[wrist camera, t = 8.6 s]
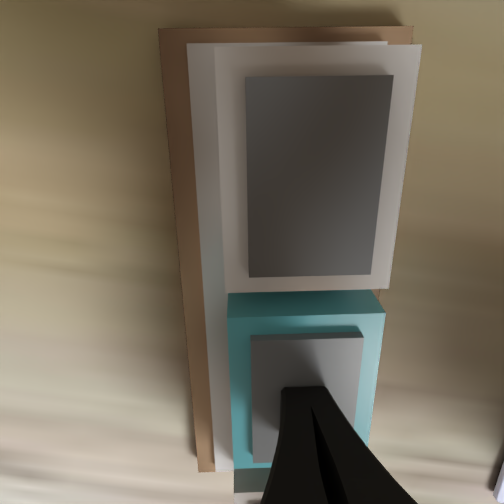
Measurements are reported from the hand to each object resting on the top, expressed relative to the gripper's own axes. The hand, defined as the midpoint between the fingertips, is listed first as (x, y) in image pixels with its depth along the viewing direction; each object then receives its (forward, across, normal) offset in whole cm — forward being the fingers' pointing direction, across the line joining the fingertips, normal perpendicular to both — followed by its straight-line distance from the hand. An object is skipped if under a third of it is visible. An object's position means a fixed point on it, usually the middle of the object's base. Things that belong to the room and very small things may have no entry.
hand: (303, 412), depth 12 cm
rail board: (+8, 0, 0) cm, 8 cm away
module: (+6, 0, 0) cm, 6 cm away
